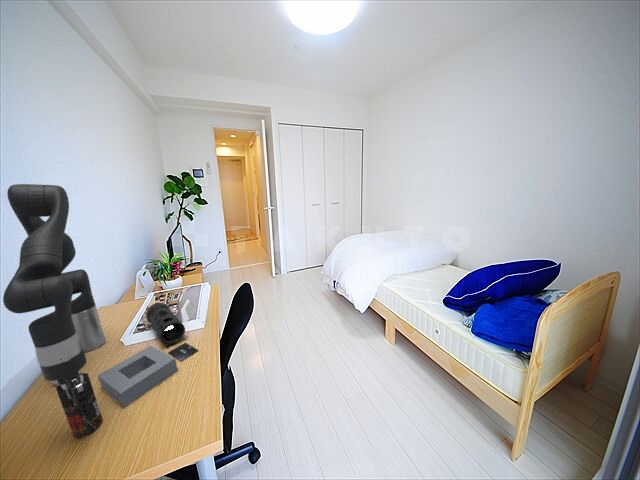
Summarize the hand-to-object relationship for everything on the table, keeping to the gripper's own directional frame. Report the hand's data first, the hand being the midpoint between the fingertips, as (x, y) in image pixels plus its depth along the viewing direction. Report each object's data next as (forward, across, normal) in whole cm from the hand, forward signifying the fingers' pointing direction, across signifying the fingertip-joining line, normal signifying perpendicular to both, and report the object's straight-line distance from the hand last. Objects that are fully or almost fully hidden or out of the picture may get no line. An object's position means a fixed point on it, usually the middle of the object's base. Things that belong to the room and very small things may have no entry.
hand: (80, 408), depth 64 cm
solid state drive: (+7, -6, +31) cm, 32 cm away
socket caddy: (+7, -6, +16) cm, 18 cm away
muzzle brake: (+7, -27, +36) cm, 46 cm away
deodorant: (+7, 0, 0) cm, 7 cm away
